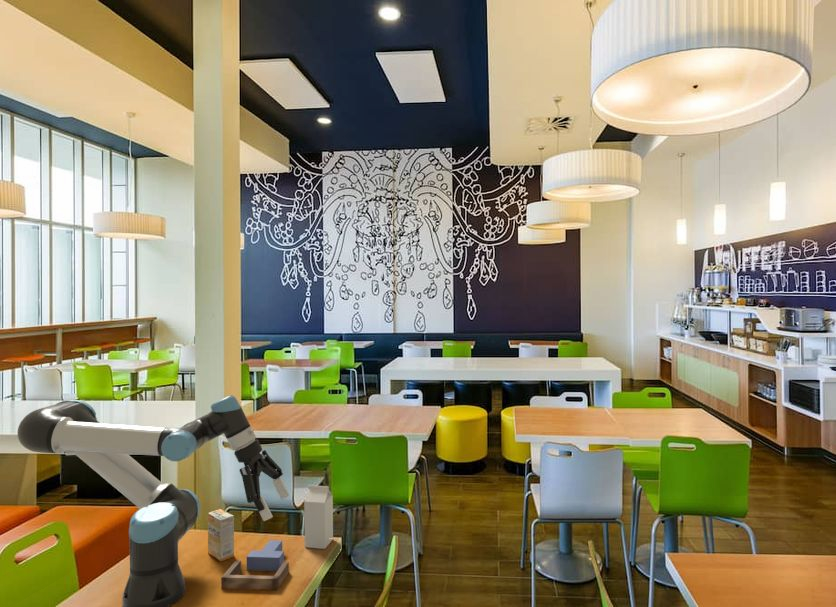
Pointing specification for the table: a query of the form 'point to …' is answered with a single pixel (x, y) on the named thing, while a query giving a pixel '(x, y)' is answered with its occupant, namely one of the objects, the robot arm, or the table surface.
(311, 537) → the milk carton
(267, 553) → the slate blue t block
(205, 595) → the table surface
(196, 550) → the table surface
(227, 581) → the walnut dock
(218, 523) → the supplement box
